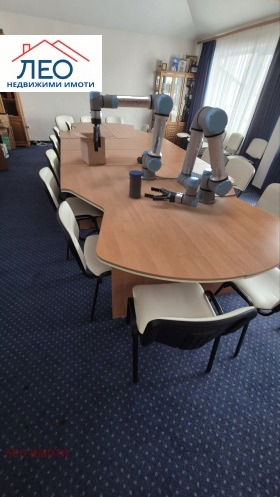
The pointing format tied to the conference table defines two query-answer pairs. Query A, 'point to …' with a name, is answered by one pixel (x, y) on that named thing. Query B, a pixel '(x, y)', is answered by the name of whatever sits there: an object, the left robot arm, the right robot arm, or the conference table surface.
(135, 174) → the lid
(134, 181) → the jar
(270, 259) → the conference table surface
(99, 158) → the box
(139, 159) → the laser sight
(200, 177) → the book
